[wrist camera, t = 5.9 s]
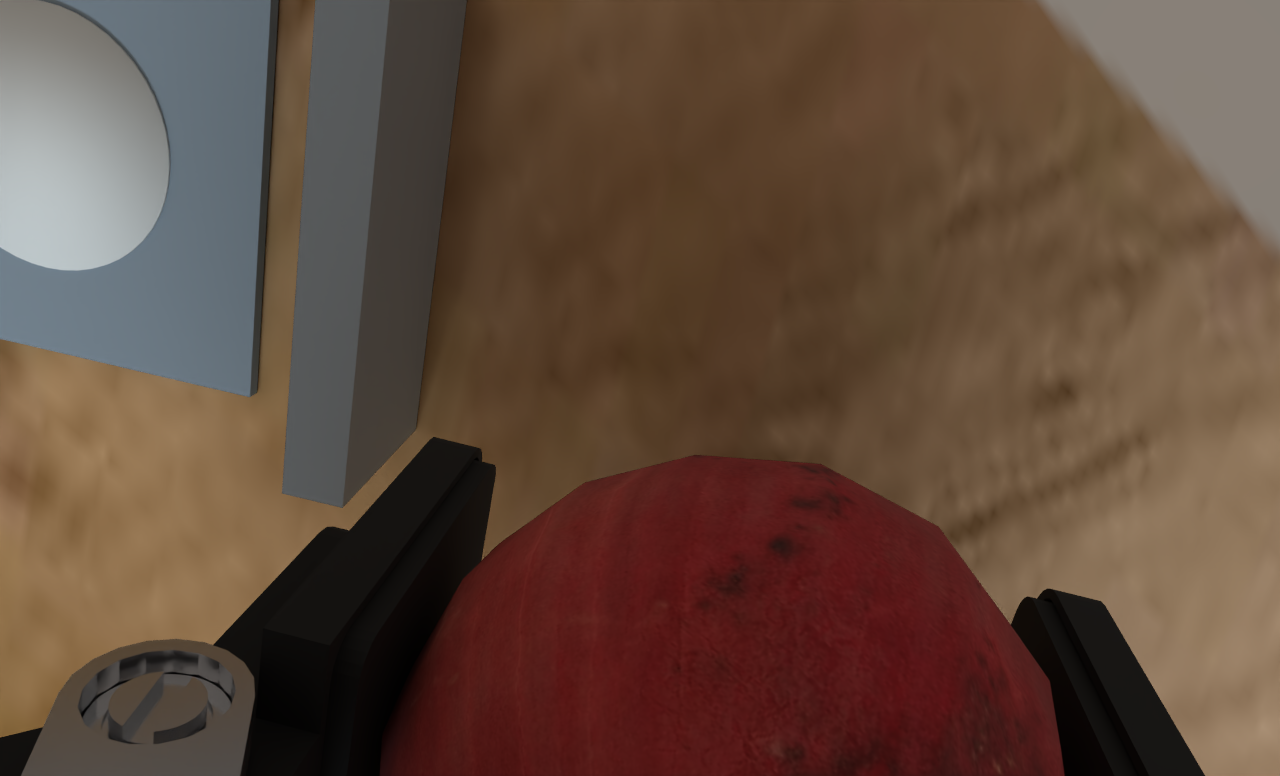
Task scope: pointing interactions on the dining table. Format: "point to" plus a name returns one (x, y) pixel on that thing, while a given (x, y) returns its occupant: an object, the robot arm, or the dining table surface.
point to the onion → (723, 641)
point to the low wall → (367, 235)
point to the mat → (137, 182)
